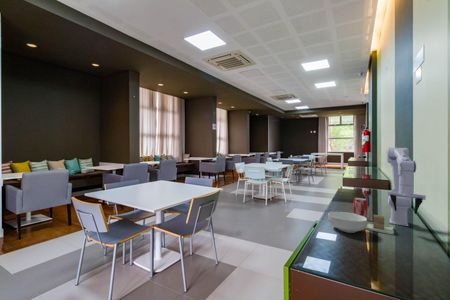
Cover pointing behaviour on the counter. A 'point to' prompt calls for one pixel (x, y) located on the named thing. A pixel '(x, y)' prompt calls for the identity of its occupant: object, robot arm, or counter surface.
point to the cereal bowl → (347, 221)
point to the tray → (387, 229)
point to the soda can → (360, 207)
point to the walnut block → (378, 222)
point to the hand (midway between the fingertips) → (405, 211)
